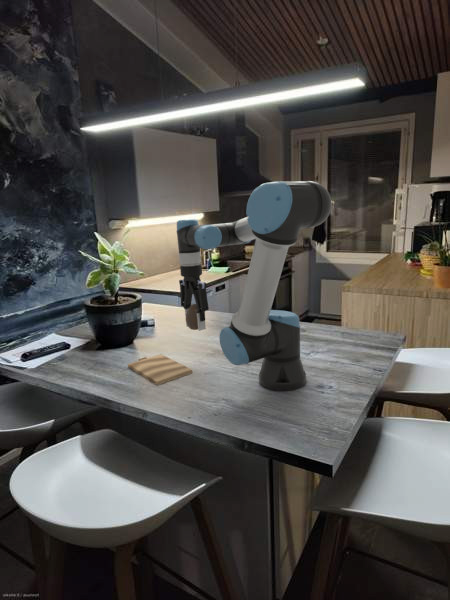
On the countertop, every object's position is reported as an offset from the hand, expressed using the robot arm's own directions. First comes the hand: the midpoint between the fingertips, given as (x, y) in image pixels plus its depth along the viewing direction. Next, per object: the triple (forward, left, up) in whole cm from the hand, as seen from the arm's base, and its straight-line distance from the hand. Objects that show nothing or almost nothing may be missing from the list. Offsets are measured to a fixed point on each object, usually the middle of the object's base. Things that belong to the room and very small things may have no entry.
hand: (195, 327), depth 147 cm
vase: (0, 0, -1) cm, 1 cm away
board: (+7, +13, -14) cm, 21 cm away
